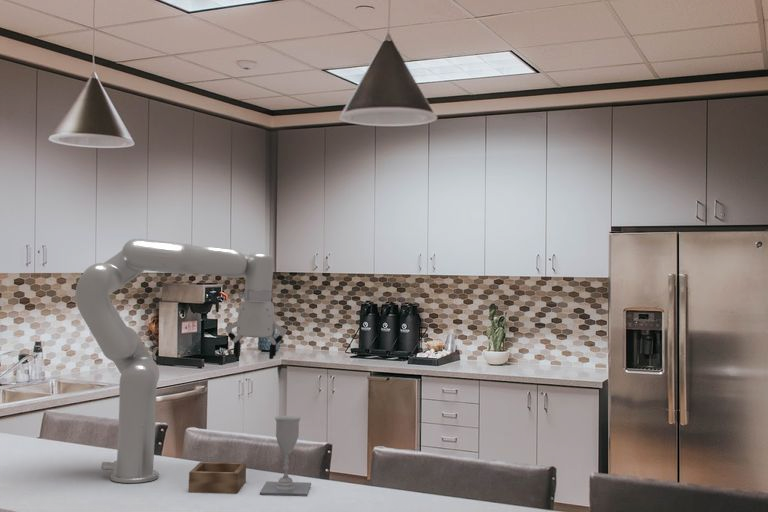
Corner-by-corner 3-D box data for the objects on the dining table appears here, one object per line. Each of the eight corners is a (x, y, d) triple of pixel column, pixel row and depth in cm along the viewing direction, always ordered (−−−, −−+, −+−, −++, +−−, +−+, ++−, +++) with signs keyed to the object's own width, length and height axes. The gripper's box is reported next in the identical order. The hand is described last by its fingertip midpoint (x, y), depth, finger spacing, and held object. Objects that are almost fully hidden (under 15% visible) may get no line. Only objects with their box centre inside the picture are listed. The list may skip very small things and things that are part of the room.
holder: (188, 492, 196) (189, 472, 196) (199, 480, 208) (200, 462, 208) (237, 493, 196) (238, 473, 196) (245, 482, 208) (246, 463, 208)
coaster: (259, 494, 195) (259, 492, 195) (266, 483, 207) (266, 481, 207) (306, 496, 195) (307, 493, 195) (311, 484, 207) (311, 482, 207)
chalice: (293, 491, 197) (296, 420, 198) (268, 489, 198) (270, 419, 199) (302, 485, 204) (304, 416, 205) (277, 483, 205) (280, 415, 206)
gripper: (224, 295, 215) (220, 357, 214) (286, 298, 214) (282, 360, 213) (230, 295, 222) (227, 355, 221) (290, 298, 222) (286, 358, 221)
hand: (254, 357), depth 217 cm, fingers open, 9 cm apart
